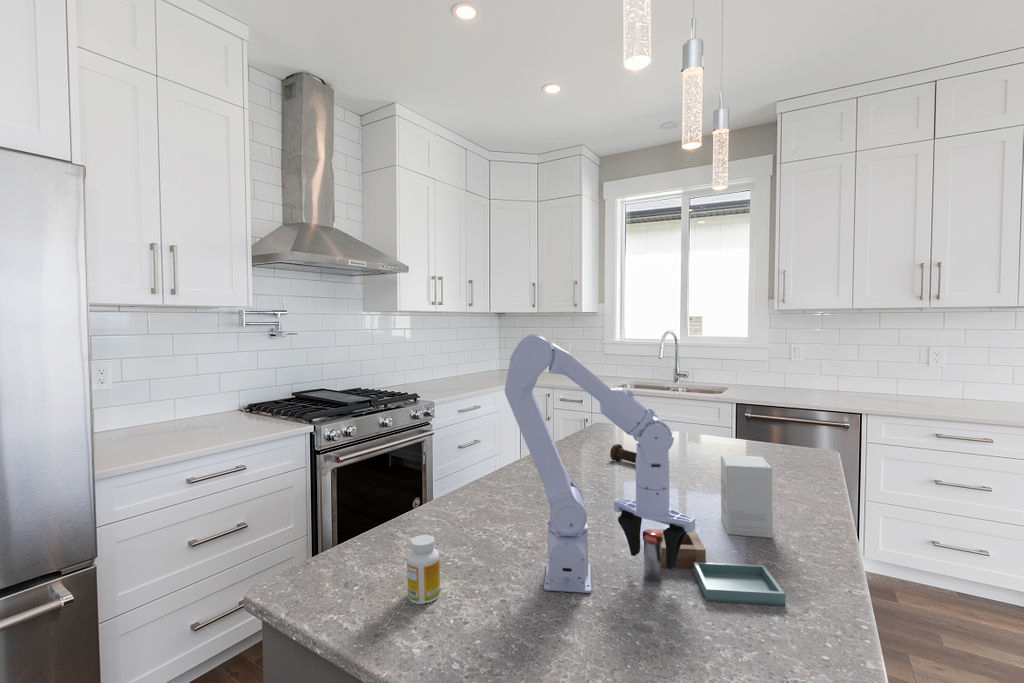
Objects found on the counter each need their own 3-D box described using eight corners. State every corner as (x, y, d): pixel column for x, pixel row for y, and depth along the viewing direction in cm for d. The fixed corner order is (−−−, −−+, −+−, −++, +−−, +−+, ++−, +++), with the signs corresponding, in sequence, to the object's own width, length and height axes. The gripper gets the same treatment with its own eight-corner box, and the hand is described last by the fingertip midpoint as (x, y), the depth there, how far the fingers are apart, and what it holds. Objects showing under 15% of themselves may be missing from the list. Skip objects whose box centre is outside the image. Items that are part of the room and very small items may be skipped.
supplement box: (763, 521, 109) (763, 455, 108) (773, 539, 100) (773, 467, 99) (720, 517, 111) (720, 453, 110) (726, 534, 102) (726, 465, 102)
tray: (785, 606, 77) (785, 593, 77) (706, 601, 78) (706, 589, 78) (763, 576, 86) (763, 565, 86) (693, 572, 87) (693, 561, 87)
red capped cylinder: (664, 583, 84) (664, 538, 84) (644, 582, 84) (644, 537, 84) (661, 573, 87) (660, 529, 87) (641, 572, 88) (641, 529, 88)
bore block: (705, 569, 88) (705, 549, 88) (660, 566, 90) (660, 547, 89) (695, 548, 96) (695, 530, 96) (654, 546, 98) (654, 529, 97)
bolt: (653, 476, 147) (613, 463, 158) (661, 464, 150) (621, 453, 161) (648, 461, 145) (607, 450, 156) (656, 450, 148) (616, 440, 159)
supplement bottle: (442, 586, 84) (440, 532, 84) (438, 604, 79) (436, 546, 78) (411, 587, 84) (409, 533, 84) (405, 606, 79) (403, 547, 78)
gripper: (702, 487, 83) (702, 564, 84) (627, 471, 93) (627, 540, 94) (685, 499, 78) (685, 581, 79) (607, 480, 88) (608, 553, 89)
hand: (652, 559), depth 86 cm, fingers open, 6 cm apart
